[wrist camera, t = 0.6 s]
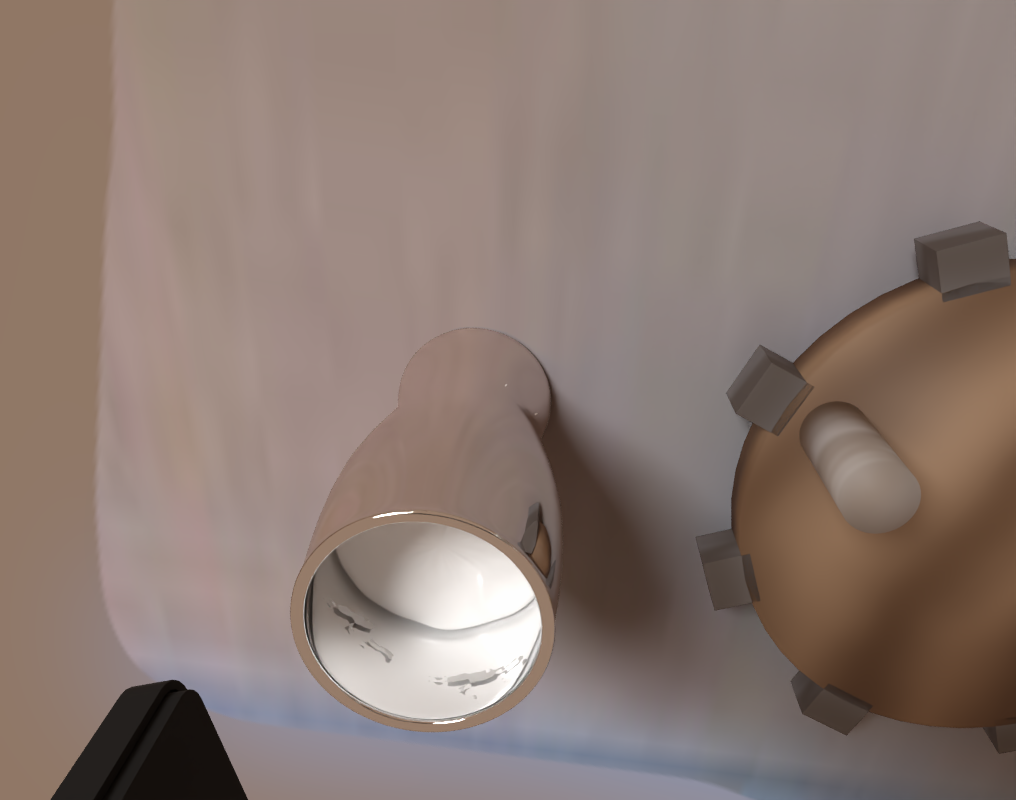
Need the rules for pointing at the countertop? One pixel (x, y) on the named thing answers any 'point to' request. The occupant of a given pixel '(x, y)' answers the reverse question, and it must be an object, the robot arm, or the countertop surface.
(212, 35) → the countertop surface
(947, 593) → the sprocket wheel
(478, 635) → the beer glass
